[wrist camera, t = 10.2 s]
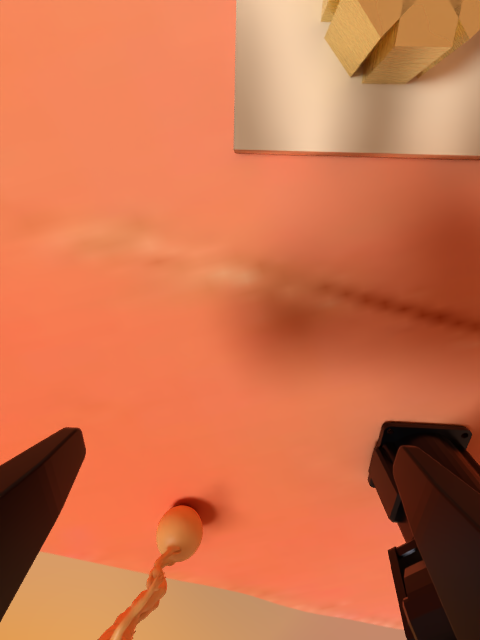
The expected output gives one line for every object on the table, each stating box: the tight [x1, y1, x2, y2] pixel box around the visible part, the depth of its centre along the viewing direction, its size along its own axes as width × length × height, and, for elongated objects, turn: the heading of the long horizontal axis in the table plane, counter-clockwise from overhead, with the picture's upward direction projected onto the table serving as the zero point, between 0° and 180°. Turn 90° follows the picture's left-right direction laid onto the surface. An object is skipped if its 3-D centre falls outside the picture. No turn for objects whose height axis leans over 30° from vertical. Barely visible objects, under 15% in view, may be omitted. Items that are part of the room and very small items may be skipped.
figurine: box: [98, 505, 203, 640], centre depth 21 cm, size 8×6×12 cm
